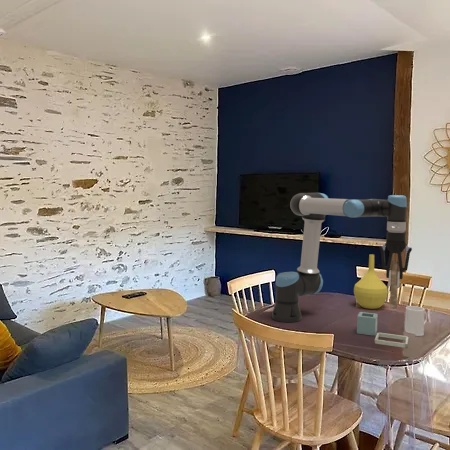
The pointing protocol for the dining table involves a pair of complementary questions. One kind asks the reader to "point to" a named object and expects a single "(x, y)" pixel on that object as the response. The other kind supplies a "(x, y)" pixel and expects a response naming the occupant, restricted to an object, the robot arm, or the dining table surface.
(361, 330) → the teal socket block
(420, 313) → the mug
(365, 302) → the vase
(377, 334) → the pale green rectangular frame
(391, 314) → the dining table surface
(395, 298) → the dowel
